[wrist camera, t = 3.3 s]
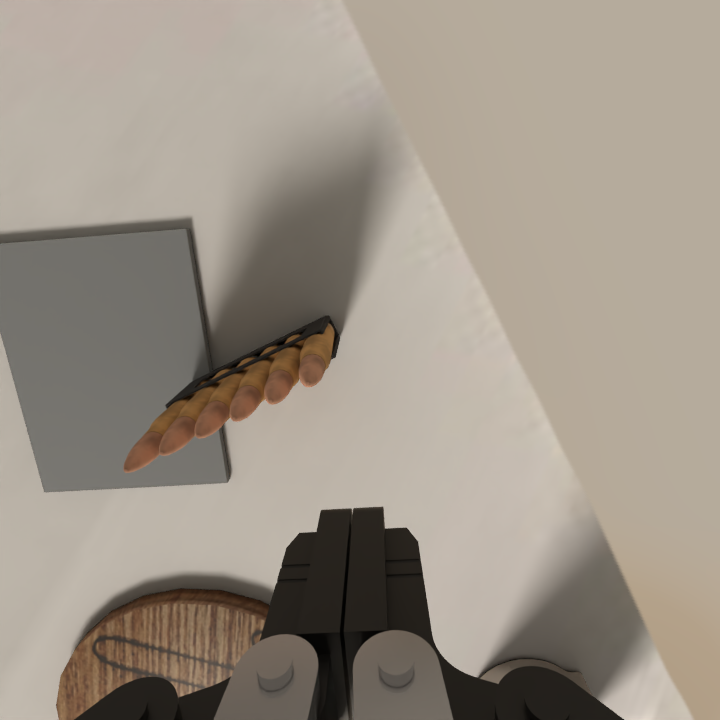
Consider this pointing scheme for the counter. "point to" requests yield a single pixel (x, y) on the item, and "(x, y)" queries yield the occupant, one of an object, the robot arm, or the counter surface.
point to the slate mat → (106, 355)
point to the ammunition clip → (238, 390)
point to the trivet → (162, 645)
